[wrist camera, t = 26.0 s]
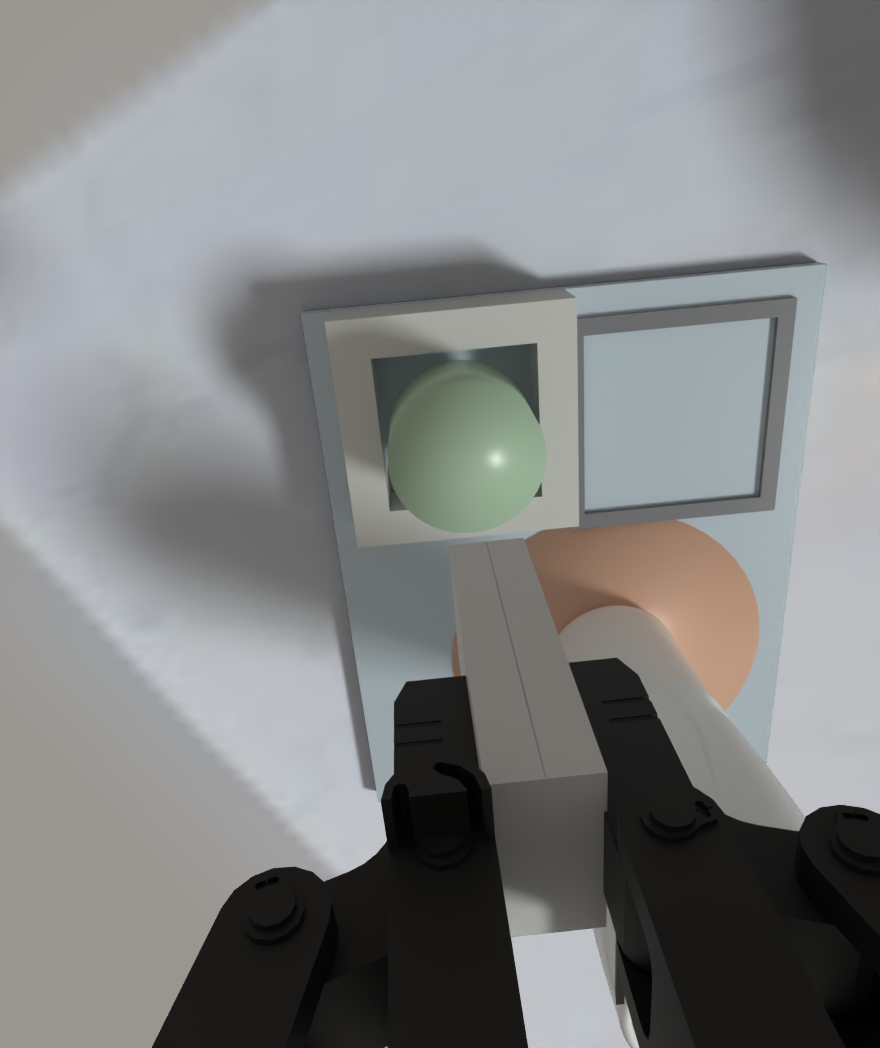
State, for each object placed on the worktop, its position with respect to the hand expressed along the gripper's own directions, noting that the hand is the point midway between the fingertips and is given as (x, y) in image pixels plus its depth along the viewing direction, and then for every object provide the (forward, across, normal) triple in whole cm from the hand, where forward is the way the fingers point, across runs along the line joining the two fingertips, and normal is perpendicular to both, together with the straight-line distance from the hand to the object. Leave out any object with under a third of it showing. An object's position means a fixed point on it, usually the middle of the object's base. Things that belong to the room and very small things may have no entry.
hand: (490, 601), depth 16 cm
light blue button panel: (+14, +4, -7) cm, 16 cm away
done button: (+11, 0, 0) cm, 11 cm away
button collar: (+13, 0, 0) cm, 13 cm away
